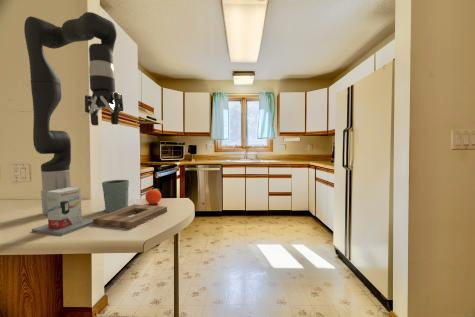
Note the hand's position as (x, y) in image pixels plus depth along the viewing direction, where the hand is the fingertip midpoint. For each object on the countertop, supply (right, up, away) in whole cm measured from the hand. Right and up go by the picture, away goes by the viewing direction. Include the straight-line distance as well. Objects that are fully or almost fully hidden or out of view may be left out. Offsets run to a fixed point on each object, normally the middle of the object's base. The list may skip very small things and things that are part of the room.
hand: (104, 124), depth 84 cm
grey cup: (-5, -33, +18) cm, 38 cm away
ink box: (-11, -34, -3) cm, 36 cm away
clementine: (+8, -33, +27) cm, 43 cm away
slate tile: (-11, -35, -3) cm, 36 cm away
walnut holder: (+7, -34, +6) cm, 35 cm away
